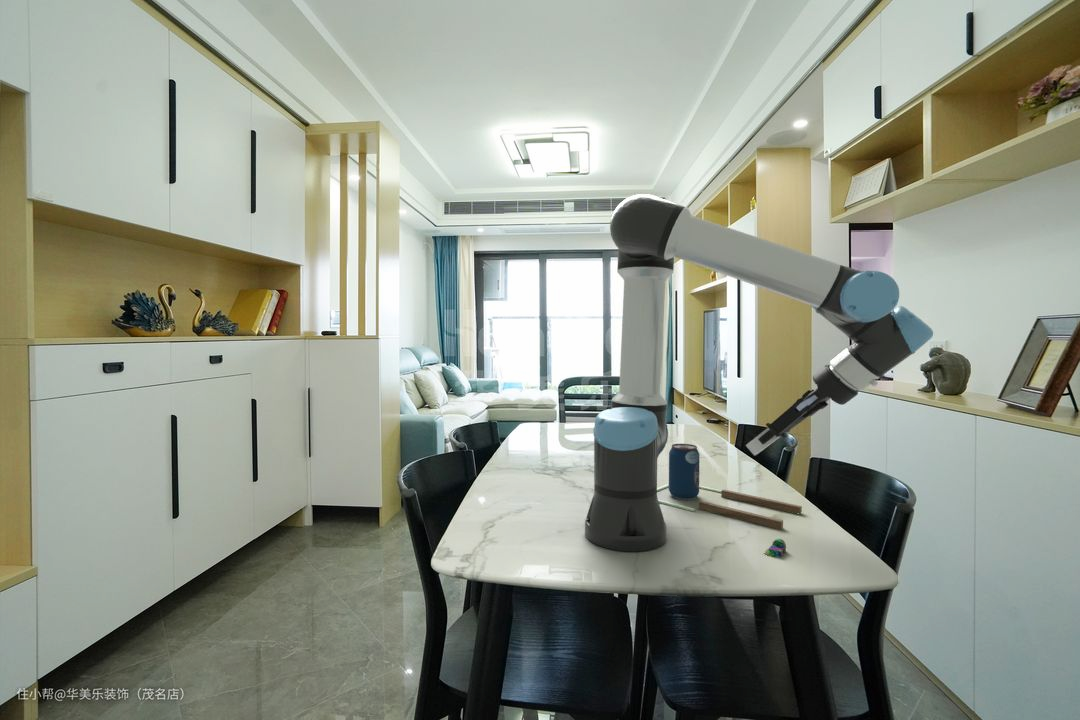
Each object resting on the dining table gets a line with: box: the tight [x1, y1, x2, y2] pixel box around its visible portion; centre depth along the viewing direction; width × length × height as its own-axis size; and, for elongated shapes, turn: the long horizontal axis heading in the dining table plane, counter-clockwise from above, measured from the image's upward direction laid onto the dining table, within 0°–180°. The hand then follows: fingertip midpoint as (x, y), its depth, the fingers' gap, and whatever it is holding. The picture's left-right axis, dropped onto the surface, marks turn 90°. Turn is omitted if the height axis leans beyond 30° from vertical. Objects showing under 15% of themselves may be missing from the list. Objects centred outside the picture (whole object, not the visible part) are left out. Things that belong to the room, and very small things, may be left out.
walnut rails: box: [697, 488, 803, 530], centre depth 103 cm, size 13×17×2 cm
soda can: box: [668, 443, 700, 501], centre depth 114 cm, size 7×7×12 cm
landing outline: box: [657, 482, 723, 512], centre depth 114 cm, size 18×14×1 cm
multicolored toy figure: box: [763, 538, 787, 558], centre depth 83 cm, size 4×3×2 cm, turn 139°
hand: (751, 449), depth 103 cm, fingers closed
